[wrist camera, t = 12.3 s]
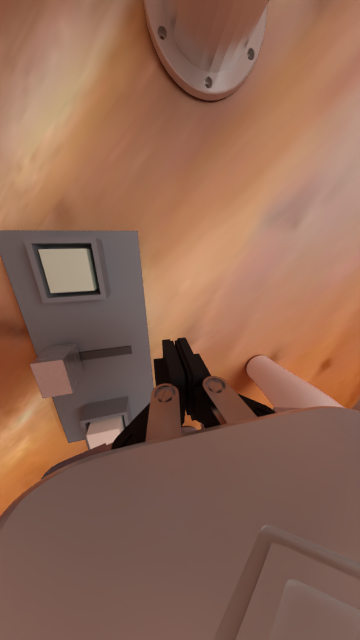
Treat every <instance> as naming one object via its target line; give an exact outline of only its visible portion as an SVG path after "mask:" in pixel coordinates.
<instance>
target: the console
mask: <svg viewBox="0 0 360 640" xmlns="http://www.w3.org/2000/svg"><path fill="white" fill-rule="evenodd" d="M38 249H90V250H92V251H93V256H94V261H95V267H96V272H97V277H98V283H99V288H97V289H96V290H93V291H77V292H61V293H51V292H50V289H49V285H48V282H47V278H46V275H45V271H44V268H43V264H42V261H41V257H40V254H39V251H38ZM0 255H1V258H2V260H3V263H4V266H5V269H6V271H7V274H8V277H9V280H10V283H11V285H12V288H13V291H14V294H15V296H16V299H17V302H18V305H19V307H20V310H21V313H22V316H23V319H24V321H25V324H26V327H27V330H28V332H29V335H30V338H31V341H32V343H33V346H34V349H35V352H36V355H37V357H38V356H39V355H40V354H41V353H42V352H43V351H44V350H46V349H47V348H48V347H49V346H54V345H62V344H71V343H76V345H77V349H78V352H79V356H80V360H81V364H82V368H83V371H84V372H83V374H82V376H81V378H80V380H79V382H78V384H77V386H76V388H75V390H74V392H73V393H71V394H65V395H60V396H54V397H52V399H53V402H54V404H55V407H56V410H57V413H58V415H59V418H60V421H61V424H62V427H63V429H64V432H65V435H66V438H67V440H68V443H72V442H76V441H80V440H86V443H87V446H88V450H90V446H89V443H88V440H87V436H86V435H87V432H88V429H89V425H90V422H93V421H98V420H103V419H108V418H113V417H117V416H122V415H123V421H124V426H125V428H126V427H127V426H128V425H129V424H130V423H131V421H132V420H133V419H134V418H135V417H136V416H137V415H138V414H139V413H140V412H141V411H142V410H143V409H144V408H145V407H146V406H147V405H148V404H149V403H150V400H151V393H152V391H153V389H154V387H153V377H152V367H151V357H150V348H149V338H148V328H147V318H146V309H145V299H144V289H143V280H142V270H141V260H140V250H139V241H138V231H0Z"/></svg>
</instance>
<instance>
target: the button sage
mask: <svg viewBox="0 0 360 640" xmlns="http://www.w3.org/2000/svg"><path fill="white" fill-rule="evenodd" d="M38 251H39V254H40V257H41V261H42V264H43V268H44V271H45V275H46V278H47V282H48V285H49V289H50V292H51V293H61V292H77V291H93V290H96V289H97V288H99V283H98V277H97V272H96V267H95V261H94V256H93V251H92V250H90V249H38Z"/></svg>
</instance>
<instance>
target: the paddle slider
mask: <svg viewBox="0 0 360 640" xmlns="http://www.w3.org/2000/svg"><path fill="white" fill-rule="evenodd" d="M30 366H31V369H32V372H33V374H34V377H35V379H36V382H37V385H38V387H39V390H40V392H41V395H42V398H48V397H54V396H60V395H65V394H71V393H73V392H74V390H75V388H76V386H77V384H78V382H79V380H80V378H81V376H82V374H83V372H84V371H83V368H82V364H81V360H80V356H79V352H78V349H77V345H76V343H71V344H62V345H54V346H49V347H48V348H47V349H46V350H44V351H43V352H42V353H41V354H40V355H39V356H38V357H37V358H36V359H35V360H34V361H33V362H32V363H30Z"/></svg>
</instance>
